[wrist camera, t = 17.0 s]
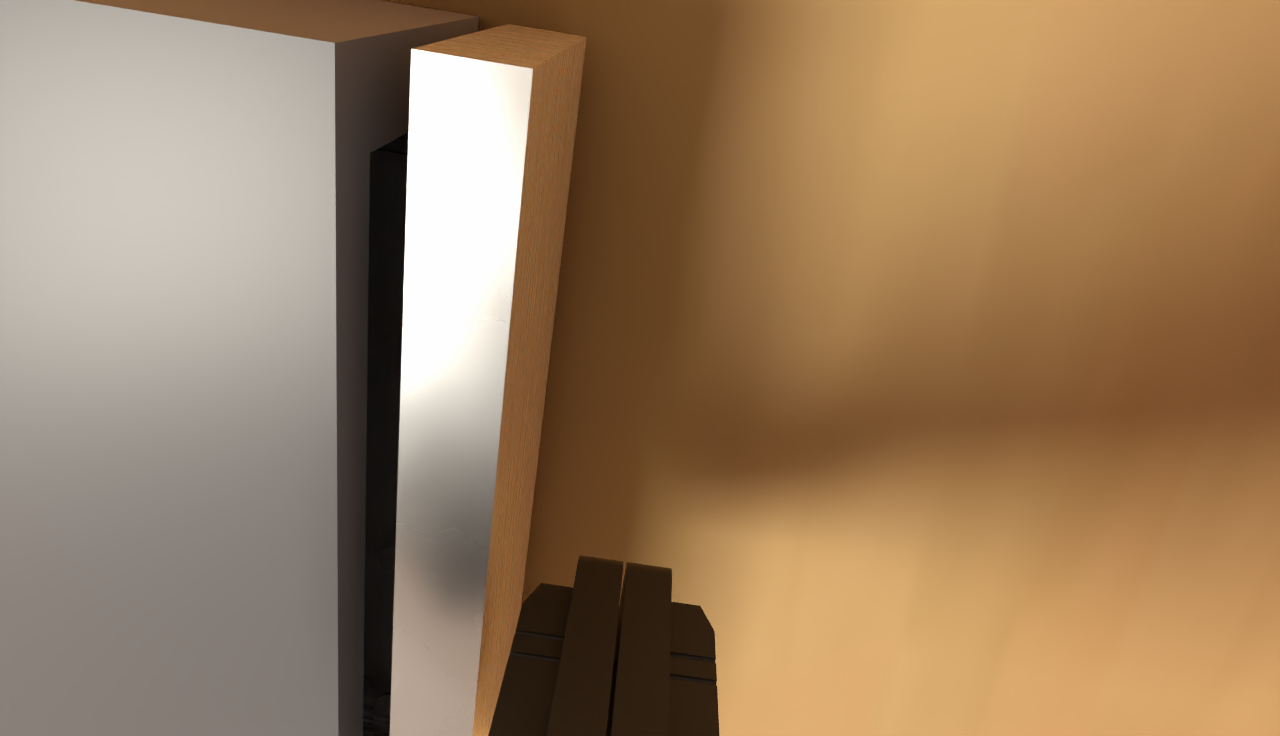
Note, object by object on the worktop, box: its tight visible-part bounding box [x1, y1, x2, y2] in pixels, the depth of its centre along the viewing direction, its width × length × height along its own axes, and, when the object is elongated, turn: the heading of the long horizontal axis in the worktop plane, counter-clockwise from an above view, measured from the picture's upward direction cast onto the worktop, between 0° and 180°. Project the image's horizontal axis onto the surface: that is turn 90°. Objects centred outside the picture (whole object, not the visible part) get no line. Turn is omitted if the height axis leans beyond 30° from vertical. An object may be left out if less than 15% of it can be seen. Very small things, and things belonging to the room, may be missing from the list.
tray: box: [363, 24, 586, 736], centre depth 14 cm, size 16×16×5 cm
